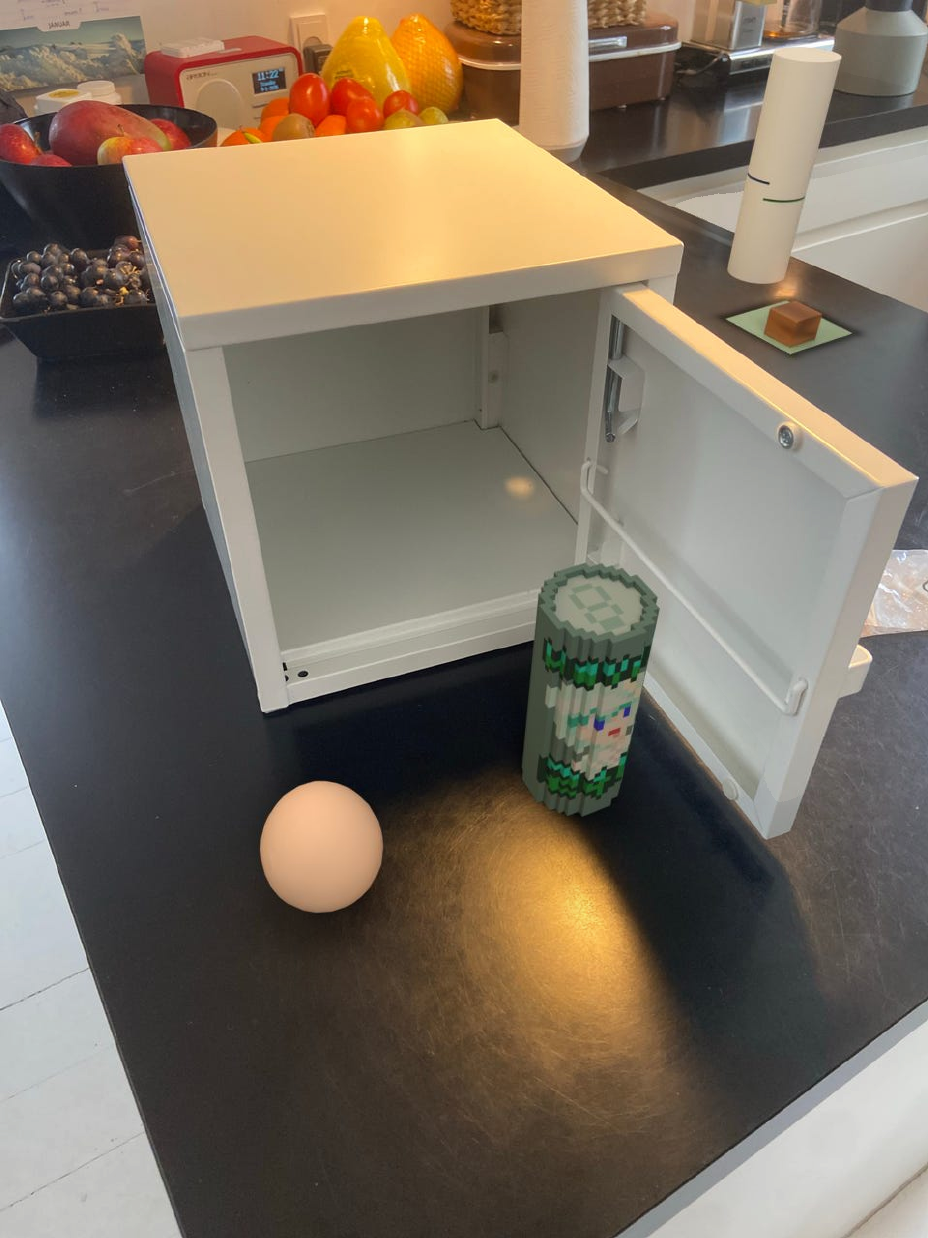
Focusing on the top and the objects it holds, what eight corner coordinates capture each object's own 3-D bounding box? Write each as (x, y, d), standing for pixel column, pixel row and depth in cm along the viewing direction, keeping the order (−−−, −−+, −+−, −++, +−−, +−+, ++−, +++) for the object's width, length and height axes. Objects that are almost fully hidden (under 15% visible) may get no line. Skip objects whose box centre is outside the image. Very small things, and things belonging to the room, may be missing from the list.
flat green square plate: (783, 309, 110) (786, 300, 109) (849, 342, 104) (852, 332, 103) (723, 328, 106) (725, 318, 105) (787, 363, 100) (790, 353, 99)
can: (553, 828, 56) (578, 655, 45) (507, 756, 60) (521, 581, 49) (637, 794, 58) (679, 620, 47) (587, 726, 62) (616, 553, 51)
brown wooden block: (788, 325, 104) (795, 300, 102) (815, 339, 102) (822, 313, 100) (763, 333, 103) (769, 307, 101) (789, 347, 100) (797, 321, 98)
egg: (406, 900, 52) (402, 819, 46) (299, 959, 49) (281, 880, 44) (353, 817, 56) (343, 733, 51) (251, 866, 53) (229, 784, 48)
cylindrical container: (745, 264, 120) (795, 43, 103) (793, 281, 116) (853, 55, 99) (714, 279, 116) (760, 53, 99) (763, 297, 112) (820, 65, 95)
